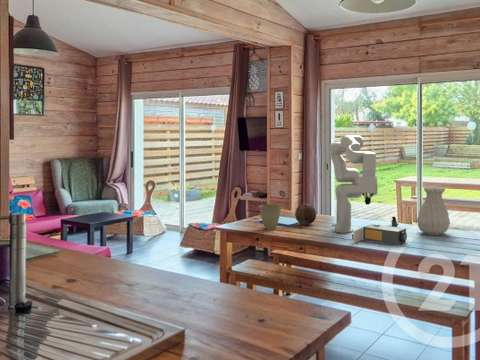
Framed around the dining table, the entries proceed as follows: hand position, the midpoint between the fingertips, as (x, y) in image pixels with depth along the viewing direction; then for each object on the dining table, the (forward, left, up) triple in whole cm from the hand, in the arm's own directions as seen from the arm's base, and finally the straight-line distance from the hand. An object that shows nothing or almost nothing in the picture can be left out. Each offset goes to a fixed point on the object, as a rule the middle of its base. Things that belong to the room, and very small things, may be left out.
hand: (367, 204), depth 289 cm
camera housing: (+6, +12, -23) cm, 27 cm away
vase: (+19, +52, -24) cm, 60 cm away
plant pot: (-69, -7, -24) cm, 73 cm away
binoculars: (-2, +35, -24) cm, 43 cm away
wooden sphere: (-60, +22, -24) cm, 68 cm away
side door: (-6, -1, -23) cm, 24 cm away
